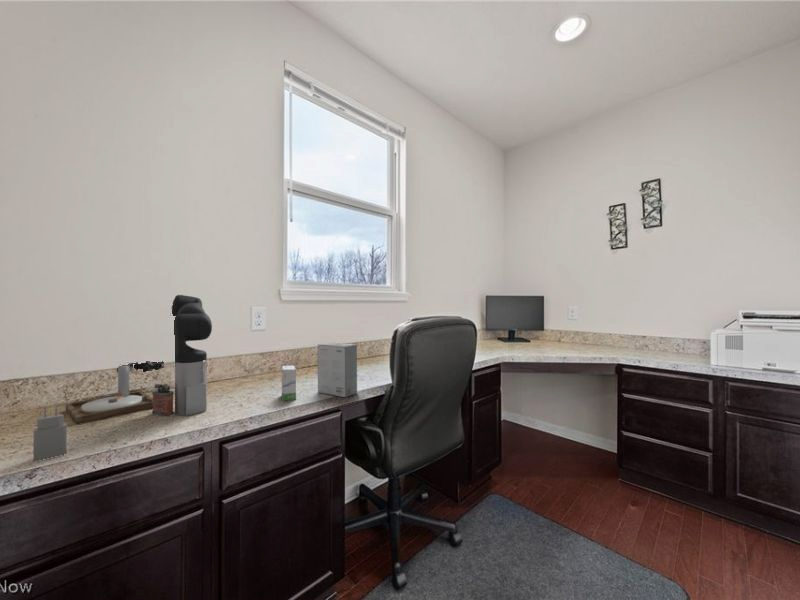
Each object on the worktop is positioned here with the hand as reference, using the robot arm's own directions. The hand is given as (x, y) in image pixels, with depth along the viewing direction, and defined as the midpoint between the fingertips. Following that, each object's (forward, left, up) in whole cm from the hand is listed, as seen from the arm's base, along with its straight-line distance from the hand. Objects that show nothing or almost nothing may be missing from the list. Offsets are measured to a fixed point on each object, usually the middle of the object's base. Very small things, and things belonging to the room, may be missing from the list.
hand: (131, 369), depth 127 cm
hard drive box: (-56, -55, -11) cm, 79 cm away
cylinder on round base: (-10, +7, -10) cm, 16 cm away
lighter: (-30, -2, -11) cm, 32 cm away
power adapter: (-44, +25, -11) cm, 52 cm away
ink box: (-46, -39, -11) cm, 61 cm away
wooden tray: (-10, +7, -11) cm, 17 cm away
